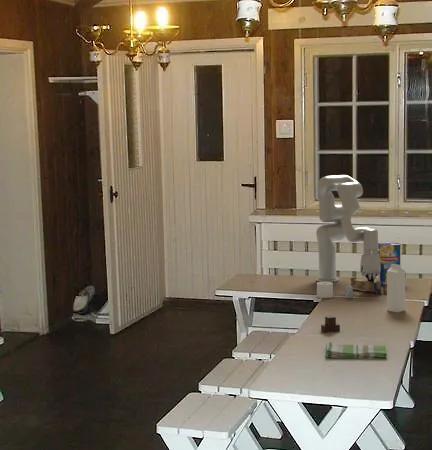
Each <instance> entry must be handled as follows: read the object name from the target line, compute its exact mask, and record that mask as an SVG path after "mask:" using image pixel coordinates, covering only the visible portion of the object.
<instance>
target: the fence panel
mask: <svg viewBox="0 0 432 450" xmlns="http://www.w3.org/2000/svg"><path fill="white" fill-rule="evenodd" d="M382 286H383V287H382V293H383V294H384V295H387V283H383V285H382Z"/></svg>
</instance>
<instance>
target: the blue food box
mask: <svg viewBox="0 0 432 450" xmlns="http://www.w3.org/2000/svg"><path fill="white" fill-rule="evenodd" d="M378 249H380V252H378V254H379V257H380V265H381V271H380V275H378V281H381V286H383V283H387V270H388V269H389V268H390V267H391V264H397V265H401V244H400V243H399V242H386V243H385V242H384V243H382V242H378Z"/></svg>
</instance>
